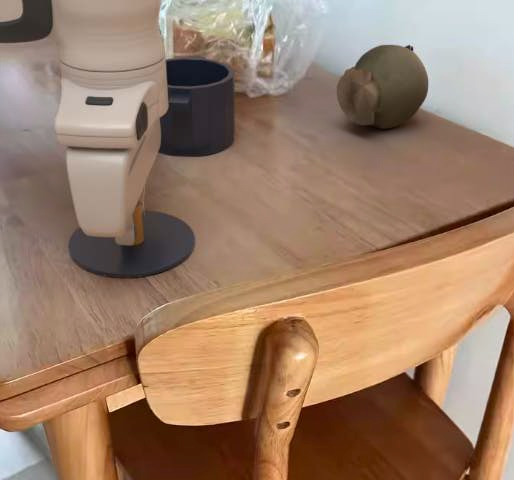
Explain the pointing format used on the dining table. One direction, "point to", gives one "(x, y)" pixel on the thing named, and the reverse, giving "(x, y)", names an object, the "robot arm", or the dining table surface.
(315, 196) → the dining table surface
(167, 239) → the lid
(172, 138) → the pot
